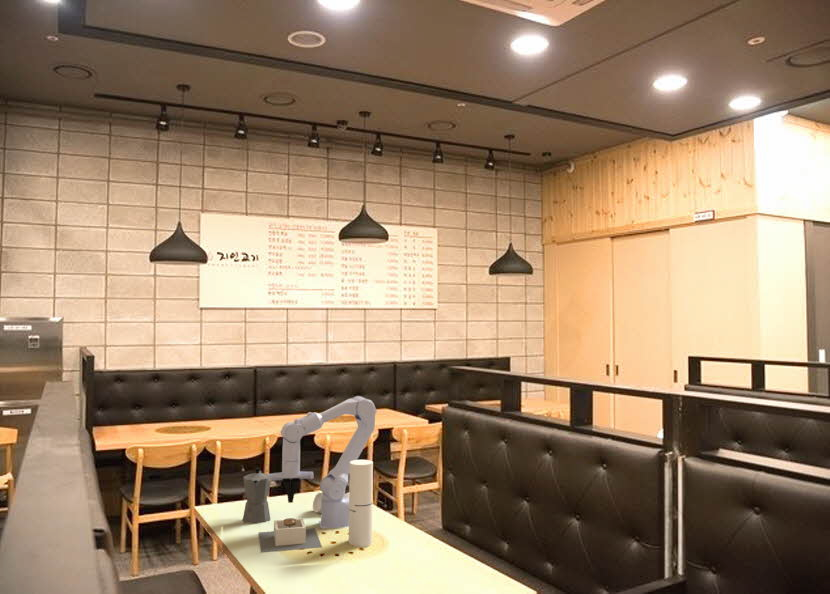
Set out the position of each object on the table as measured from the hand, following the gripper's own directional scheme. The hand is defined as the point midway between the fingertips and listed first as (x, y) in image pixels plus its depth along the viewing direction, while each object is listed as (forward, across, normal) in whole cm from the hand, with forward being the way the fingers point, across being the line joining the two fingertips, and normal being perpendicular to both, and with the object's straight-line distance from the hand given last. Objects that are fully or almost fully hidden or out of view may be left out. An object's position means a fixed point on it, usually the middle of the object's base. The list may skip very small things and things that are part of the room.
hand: (290, 501), depth 211 cm
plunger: (+8, +1, +10) cm, 13 cm away
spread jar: (+10, -16, -18) cm, 26 cm away
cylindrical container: (+10, -20, +17) cm, 28 cm away
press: (+9, +1, +10) cm, 13 cm away
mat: (+9, +1, +10) cm, 14 cm away
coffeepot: (+10, +10, -14) cm, 20 cm away
